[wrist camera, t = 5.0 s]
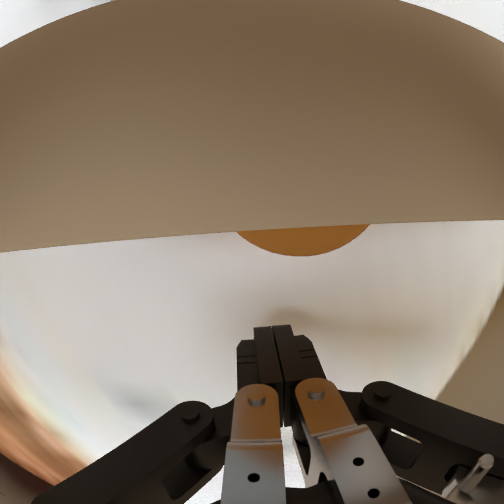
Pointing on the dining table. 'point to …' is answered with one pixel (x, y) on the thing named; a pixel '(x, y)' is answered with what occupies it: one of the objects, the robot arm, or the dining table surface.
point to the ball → (303, 239)
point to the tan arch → (246, 120)
